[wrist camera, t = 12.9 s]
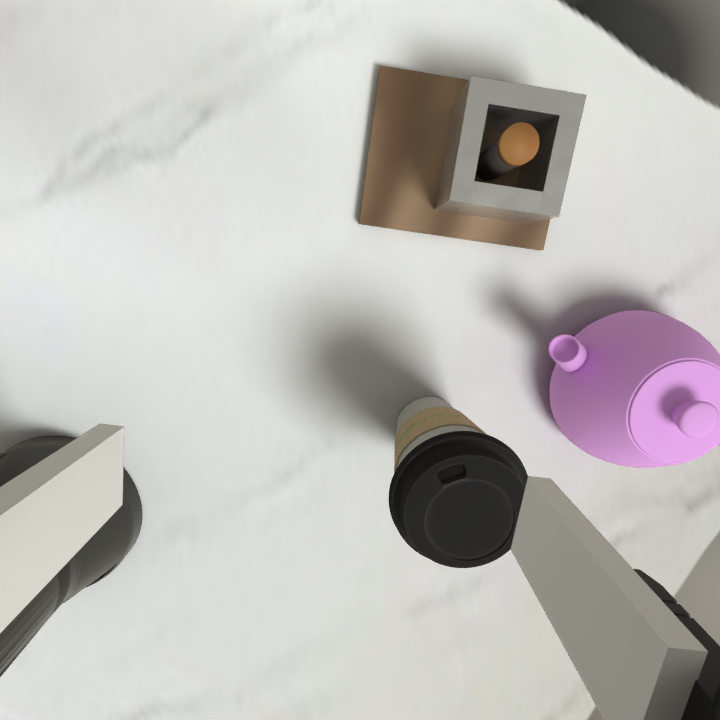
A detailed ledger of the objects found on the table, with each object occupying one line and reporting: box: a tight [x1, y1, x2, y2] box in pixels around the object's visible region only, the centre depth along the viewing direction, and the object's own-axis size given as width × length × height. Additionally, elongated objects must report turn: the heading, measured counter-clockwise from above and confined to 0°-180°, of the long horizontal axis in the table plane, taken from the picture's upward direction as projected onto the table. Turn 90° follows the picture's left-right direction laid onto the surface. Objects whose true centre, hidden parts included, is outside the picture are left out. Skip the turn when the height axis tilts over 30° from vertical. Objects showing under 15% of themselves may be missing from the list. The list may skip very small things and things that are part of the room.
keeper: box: [359, 66, 550, 250], centre depth 33 cm, size 16×12×8 cm
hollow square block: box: [434, 76, 586, 224], centre depth 34 cm, size 8×8×6 cm
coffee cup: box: [389, 397, 528, 568], centre depth 35 cm, size 9×9×15 cm
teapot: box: [548, 310, 720, 468], centre depth 36 cm, size 14×20×11 cm
